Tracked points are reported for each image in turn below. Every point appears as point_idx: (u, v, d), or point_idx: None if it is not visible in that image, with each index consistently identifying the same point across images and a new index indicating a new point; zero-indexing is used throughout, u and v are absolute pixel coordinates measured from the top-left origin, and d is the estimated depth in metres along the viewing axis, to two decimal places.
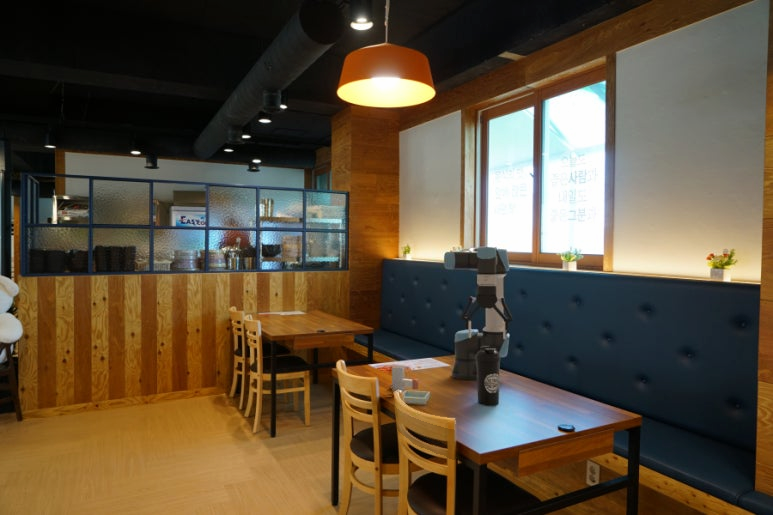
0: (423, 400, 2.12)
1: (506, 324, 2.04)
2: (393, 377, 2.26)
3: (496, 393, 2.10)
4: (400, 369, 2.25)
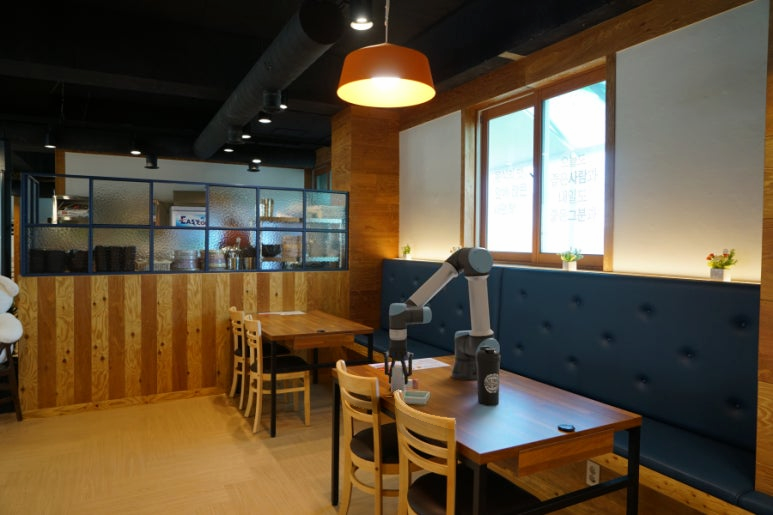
0: (423, 400, 2.12)
1: (405, 379, 2.26)
2: (393, 377, 2.26)
3: (496, 393, 2.10)
4: (400, 369, 2.25)
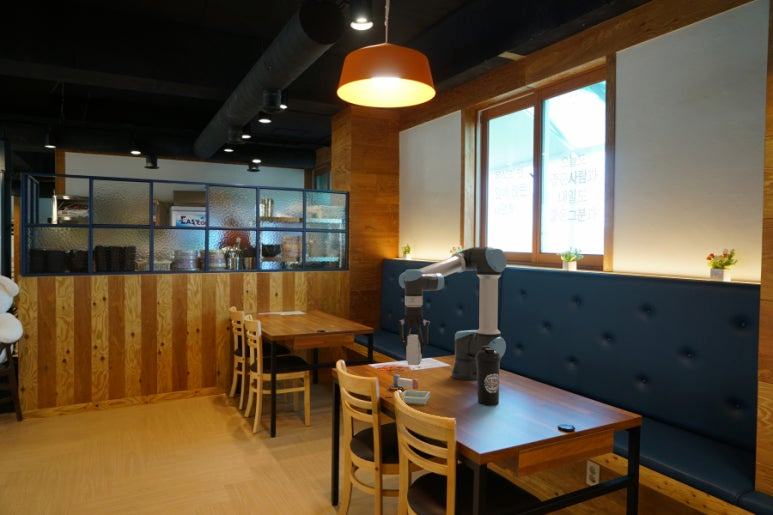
0: (423, 400, 2.12)
1: (421, 348, 2.16)
2: (408, 346, 2.16)
3: (496, 393, 2.10)
4: (416, 337, 2.15)
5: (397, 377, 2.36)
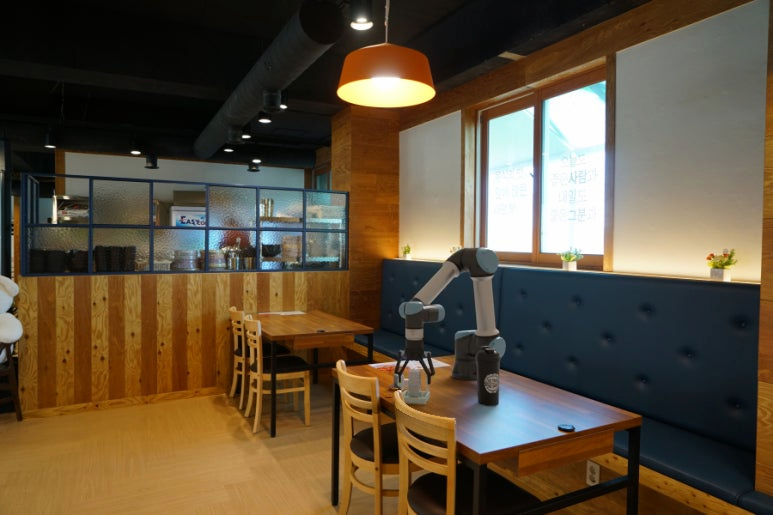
0: (423, 400, 2.12)
1: (428, 378, 2.16)
2: (409, 381, 2.16)
3: (496, 393, 2.10)
4: (417, 373, 2.15)
5: (397, 377, 2.36)
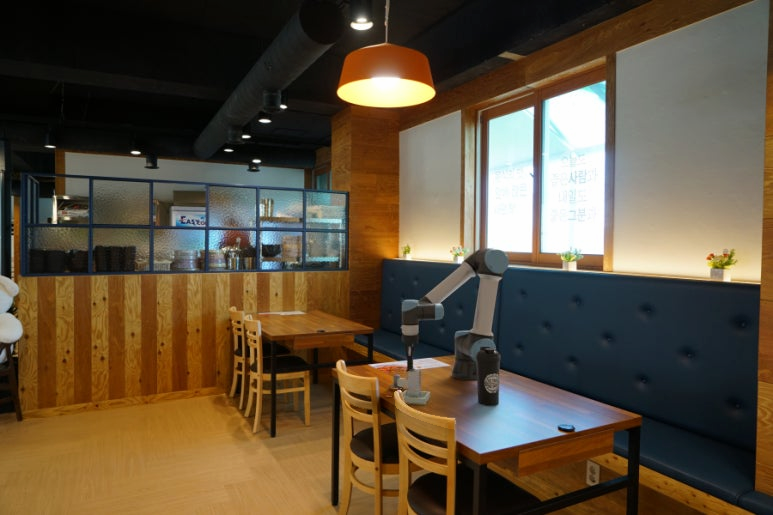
0: (423, 400, 2.12)
1: None
2: (409, 381, 2.16)
3: (496, 393, 2.10)
4: (417, 373, 2.15)
5: (397, 377, 2.36)
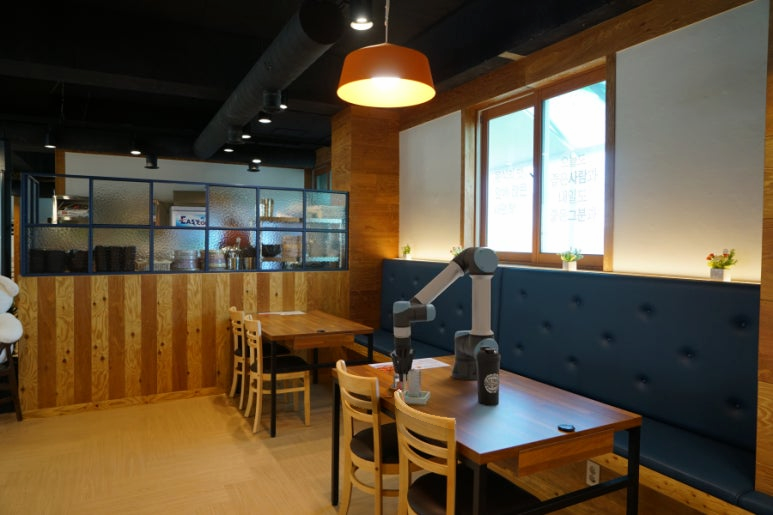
0: (423, 400, 2.12)
1: None
2: (409, 381, 2.16)
3: (496, 393, 2.10)
4: (417, 373, 2.15)
5: (394, 377, 2.36)
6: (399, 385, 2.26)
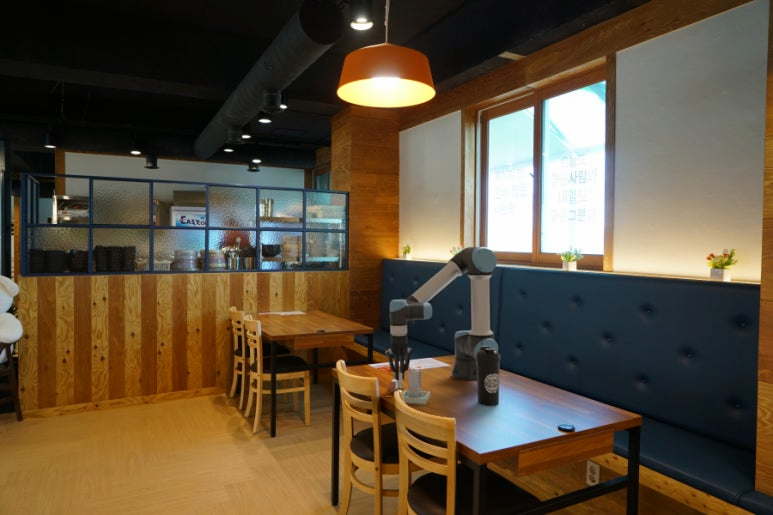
0: (423, 400, 2.12)
1: None
2: (409, 381, 2.16)
3: (496, 393, 2.10)
4: (417, 373, 2.15)
5: (394, 377, 2.37)
6: (391, 385, 2.27)
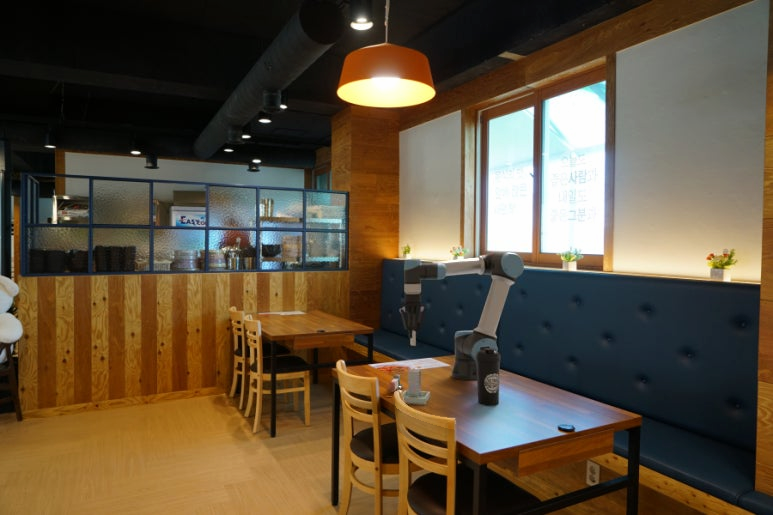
0: (423, 400, 2.12)
1: None
2: (409, 381, 2.16)
3: (496, 393, 2.10)
4: (417, 373, 2.15)
5: (394, 377, 2.37)
6: (391, 385, 2.27)
